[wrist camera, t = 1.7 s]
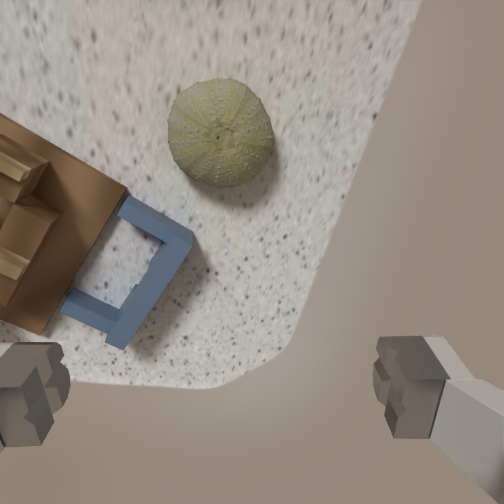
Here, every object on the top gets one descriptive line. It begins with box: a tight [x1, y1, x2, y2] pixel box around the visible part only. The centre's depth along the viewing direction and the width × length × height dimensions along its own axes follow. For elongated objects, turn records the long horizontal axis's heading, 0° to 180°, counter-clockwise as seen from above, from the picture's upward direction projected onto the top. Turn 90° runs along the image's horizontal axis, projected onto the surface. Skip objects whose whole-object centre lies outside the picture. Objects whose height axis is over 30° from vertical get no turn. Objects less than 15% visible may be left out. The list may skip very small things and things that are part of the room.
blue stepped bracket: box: [60, 195, 193, 350], centre depth 37 cm, size 7×13×4 cm, turn 145°
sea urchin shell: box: [168, 78, 274, 187], centre depth 33 cm, size 9×8×8 cm
